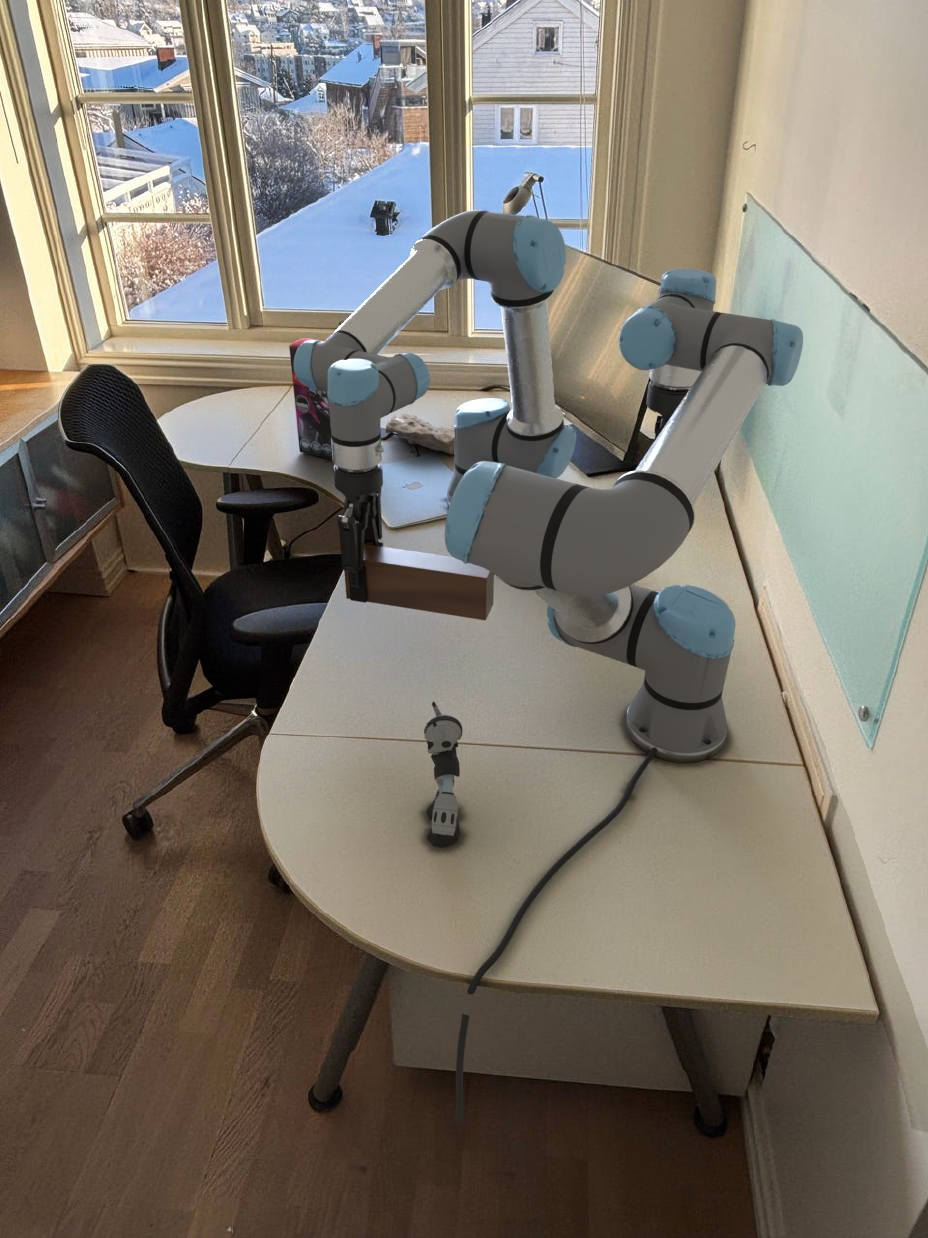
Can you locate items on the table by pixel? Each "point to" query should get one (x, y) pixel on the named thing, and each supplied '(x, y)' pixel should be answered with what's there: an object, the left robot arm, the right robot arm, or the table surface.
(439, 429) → the stone
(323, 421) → the graphics card box
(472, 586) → the brown rectangular block
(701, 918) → the table surface
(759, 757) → the table surface
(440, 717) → the robot
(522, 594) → the table surface
